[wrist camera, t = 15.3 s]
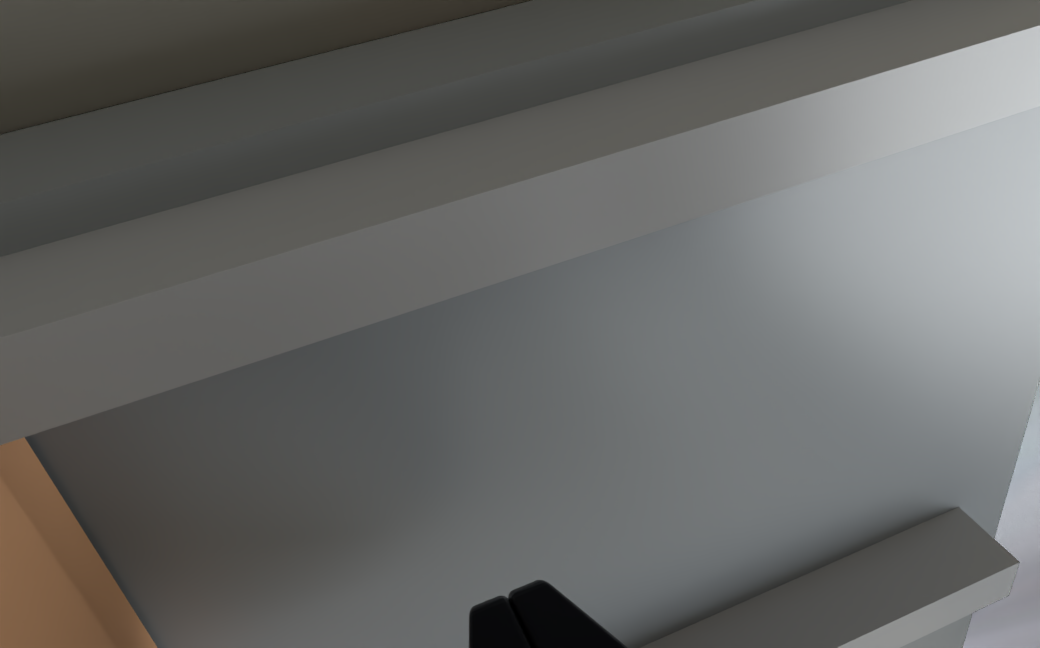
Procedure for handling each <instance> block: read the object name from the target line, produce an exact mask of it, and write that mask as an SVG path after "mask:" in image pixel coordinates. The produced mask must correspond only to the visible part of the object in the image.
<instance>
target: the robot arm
mask: <svg viewBox="0 0 1040 648" xmlns="http://www.w3.org/2000/svg"><path fill="white" fill-rule="evenodd" d="M469 648H628V647H627V646H626V645H625V644H623V643H622V642H621V641H620V640H618V639H617V638H616V637H615V636H614V635H612V634H611V633H610V632H609V631H607V630H606V629H605V628H604V627H603V626H601V625H600V624H599V623H598V622H596V621H595V620H594V619H593V618H592V617H590V616H589V615H588V614H587V613H585V612H584V611H583V610H582V609H581V608H579V607H578V606H577V605H576V604H574V603H573V602H572V601H571V600H570V599H568V598H567V597H566V596H565V595H563V594H562V593H561V592H560V591H559V590H557V589H556V588H555V587H554V586H552V585H551V584H550V583H548V582H546V581H544V580H536V581H534V582H531V583H529V584H526V585H524V586H521V587H519V588H516V589H514V590H512V591H511V592H510V593H509V595H508V598H507V597H505V596H502V595H501V596H497V597H494V598H492V599H489V600H487V601H484V602H482V603H479V604H477V605H475V606H473V607H472V608H471V609H470V612H469Z"/></svg>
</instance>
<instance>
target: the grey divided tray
mask: <svg viewBox="0 0 1040 648" xmlns="http://www.w3.org/2000/svg"><path fill="white" fill-rule="evenodd" d="M1039 382H1040V0H532V1H528V2H524V3H520V4H516V5H512V6H508V7H504V8H500V9H496V10H492V11H488V12H485V13H481V14H477V15H473V16H469V17H465V18H461V19H457V20H453V21H449V22H445V23H441V24H437V25H433V26H429V27H425V28H421V29H417V30H413V31H409V32H405V33H401V34H397V35H393V36H389V37H386V38H382V39H378V40H374V41H370V42H366V43H362V44H358V45H354V46H350V47H346V48H342V49H338V50H334V51H330V52H326V53H322V54H318V55H314V56H310V57H306V58H302V59H298V60H294V61H290V62H287V63H283V64H279V65H275V66H271V67H267V68H263V69H259V70H255V71H251V72H247V73H243V74H239V75H235V76H231V77H227V78H223V79H219V80H215V81H211V82H207V83H203V84H199V85H195V86H191V87H188V88H184V89H180V90H176V91H172V92H168V93H164V94H160V95H156V96H152V97H148V98H144V99H140V100H136V101H132V102H128V103H124V104H120V105H116V106H112V107H108V108H104V109H100V110H96V111H92V112H89V113H85V114H81V115H77V116H73V117H69V118H65V119H61V120H57V121H53V122H49V123H45V124H41V125H37V126H33V127H29V128H25V129H21V130H17V131H13V132H9V133H5V134H1V135H0V445H2V444H5V443H9V442H12V441H15V440H18V439H21V438H24V437H25V439H26V440H27V442H28V444H29V445H30V447H31V448H32V450H33V452H34V453H35V455H36V456H37V458H38V459H39V461H40V463H41V464H42V466H43V467H44V469H45V471H46V472H47V474H48V475H49V477H50V478H51V480H52V482H53V483H54V485H55V486H56V488H57V489H58V491H59V493H60V494H61V496H62V497H63V499H64V501H65V502H66V504H67V505H68V507H69V508H70V510H71V512H72V513H73V515H74V516H75V518H76V520H77V521H78V523H79V524H80V526H81V527H82V529H83V531H84V532H85V534H86V535H87V537H88V539H89V540H90V542H91V543H92V545H93V546H94V548H95V550H96V551H97V553H98V554H99V556H100V558H101V559H102V561H103V562H104V564H105V565H106V567H107V569H108V570H109V572H110V573H111V575H112V576H113V578H114V580H115V581H116V583H117V584H118V586H119V588H120V589H121V591H122V592H123V594H124V595H125V597H126V599H127V600H128V602H129V603H130V605H131V607H132V608H133V610H134V611H135V613H136V614H137V616H138V618H139V619H140V621H141V622H142V624H143V626H144V627H145V629H146V630H147V632H148V633H149V635H150V637H151V638H152V640H153V641H154V643H155V645H156V646H157V648H469V612H470V609H471V608H472V607H473V606H475V605H477V604H479V603H482V602H484V601H487V600H489V599H492V598H494V597H497V596H501V595H502V596H505V597H507V598H508V595H509V593H510V592H511V591H512V590H514V589H516V588H519V587H521V586H524V585H526V584H529V583H531V582H534V581H536V580H544V581H546V582H548V583H550V584H551V585H552V586H554V587H555V588H556V589H557V590H559V591H560V592H561V593H562V594H563V595H565V596H566V597H567V598H568V599H570V600H571V601H572V602H573V603H574V604H576V605H577V606H578V607H579V608H581V609H582V610H583V611H584V612H585V613H587V614H588V615H589V616H590V617H592V618H593V619H594V620H595V621H596V622H598V623H599V624H600V625H601V626H603V627H604V628H605V629H606V630H607V631H609V632H610V633H611V634H612V635H614V636H615V637H616V638H617V639H618V640H620V641H621V642H622V643H623V644H625V645H626V646H627V647H628V648H963V644H964V641H965V638H966V634H967V631H968V627H969V624H970V620H971V617H972V613H974V612H976V611H978V610H980V609H982V608H984V607H986V606H988V605H991V604H993V603H995V602H997V601H999V600H1001V599H1003V598H1005V597H1007V596H1009V594H1010V591H1011V588H1012V584H1013V581H1014V578H1015V575H1016V572H1017V569H1018V566H1019V563H1020V562H1019V561H1018V560H1017V559H1016V558H1014V557H1013V556H1012V555H1011V554H1010V553H1009V552H1008V551H1007V550H1006V549H1005V548H1003V547H1002V546H1001V545H1000V544H999V543H998V542H997V541H996V540H995V539H994V537H995V534H996V530H997V527H998V523H999V520H1000V517H1001V513H1002V510H1003V506H1004V503H1005V499H1006V496H1007V492H1008V489H1009V485H1010V482H1011V478H1012V475H1013V472H1014V468H1015V465H1016V461H1017V458H1018V454H1019V451H1020V447H1021V444H1022V440H1023V437H1024V434H1025V430H1026V427H1027V423H1028V420H1029V416H1030V413H1031V409H1032V406H1033V402H1034V399H1035V396H1036V392H1037V389H1038V385H1039Z"/></svg>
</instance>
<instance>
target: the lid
mask: <svg viewBox="0 0 1040 648" xmlns="http://www.w3.org/2000/svg"><path fill="white" fill-rule="evenodd" d="M0 648H157V646H156V645H155V643H154V641H153V640H152V638H151V637H150V635H149V633H148V632H147V630H146V629H145V627H144V626H143V624H142V622H141V621H140V619H139V618H138V616H137V614H136V613H135V611H134V610H133V608H132V607H131V605H130V603H129V602H128V600H127V599H126V597H125V595H124V594H123V592H122V591H121V589H120V588H119V586H118V584H117V583H116V581H115V580H114V578H113V576H112V575H111V573H110V572H109V570H108V569H107V567H106V565H105V564H104V562H103V561H102V559H101V558H100V556H99V554H98V553H97V551H96V550H95V548H94V546H93V545H92V543H91V542H90V540H89V539H88V537H87V535H86V534H85V532H84V531H83V529H82V527H81V526H80V524H79V523H78V521H77V520H76V518H75V516H74V515H73V513H72V512H71V510H70V508H69V507H68V505H67V504H66V502H65V501H64V499H63V497H62V496H61V494H60V493H59V491H58V489H57V488H56V486H55V485H54V483H53V482H52V480H51V478H50V477H49V475H48V474H47V472H46V471H45V469H44V467H43V466H42V464H41V463H40V461H39V459H38V458H37V456H36V455H35V453H34V452H33V450H32V448H31V447H30V445H29V444H28V442H27V440H26V439H25V437H24V438H21V439H18V440H15V441H12V442H9V443H5V444H2V445H0Z"/></svg>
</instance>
